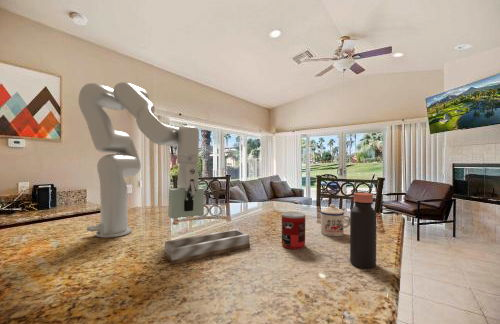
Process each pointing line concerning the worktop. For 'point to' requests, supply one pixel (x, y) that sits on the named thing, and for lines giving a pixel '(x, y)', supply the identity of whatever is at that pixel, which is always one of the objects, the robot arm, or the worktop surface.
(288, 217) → the canned food
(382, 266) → the worktop surface
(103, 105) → the robot arm
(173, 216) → the pale green block
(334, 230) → the teacup with lid
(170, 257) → the grey stone tray
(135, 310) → the worktop surface
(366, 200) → the bottle
